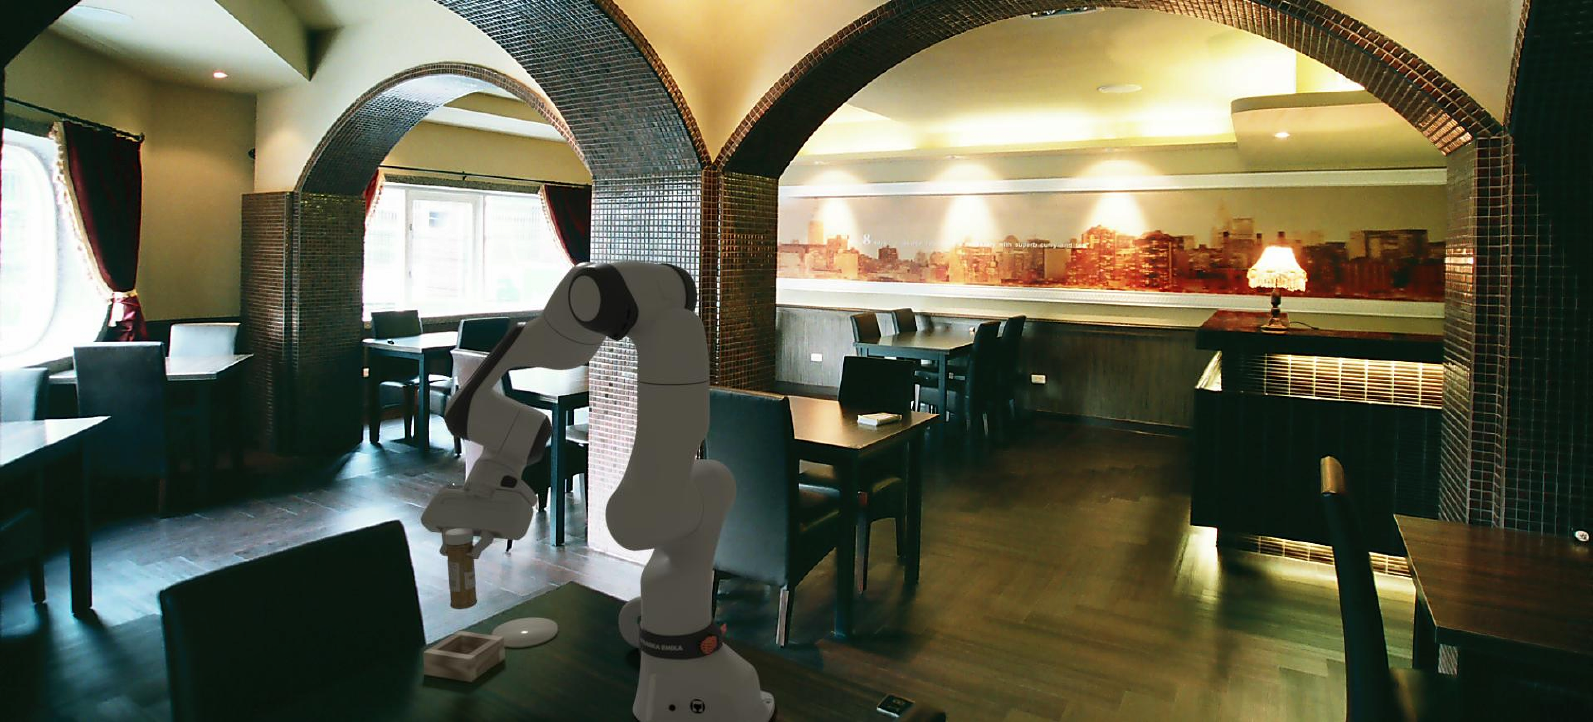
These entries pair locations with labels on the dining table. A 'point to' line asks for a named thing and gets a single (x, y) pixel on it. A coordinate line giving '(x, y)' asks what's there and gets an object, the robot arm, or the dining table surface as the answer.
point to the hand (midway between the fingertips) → (458, 556)
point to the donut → (630, 621)
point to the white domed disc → (526, 631)
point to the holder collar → (464, 656)
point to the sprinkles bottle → (461, 568)
